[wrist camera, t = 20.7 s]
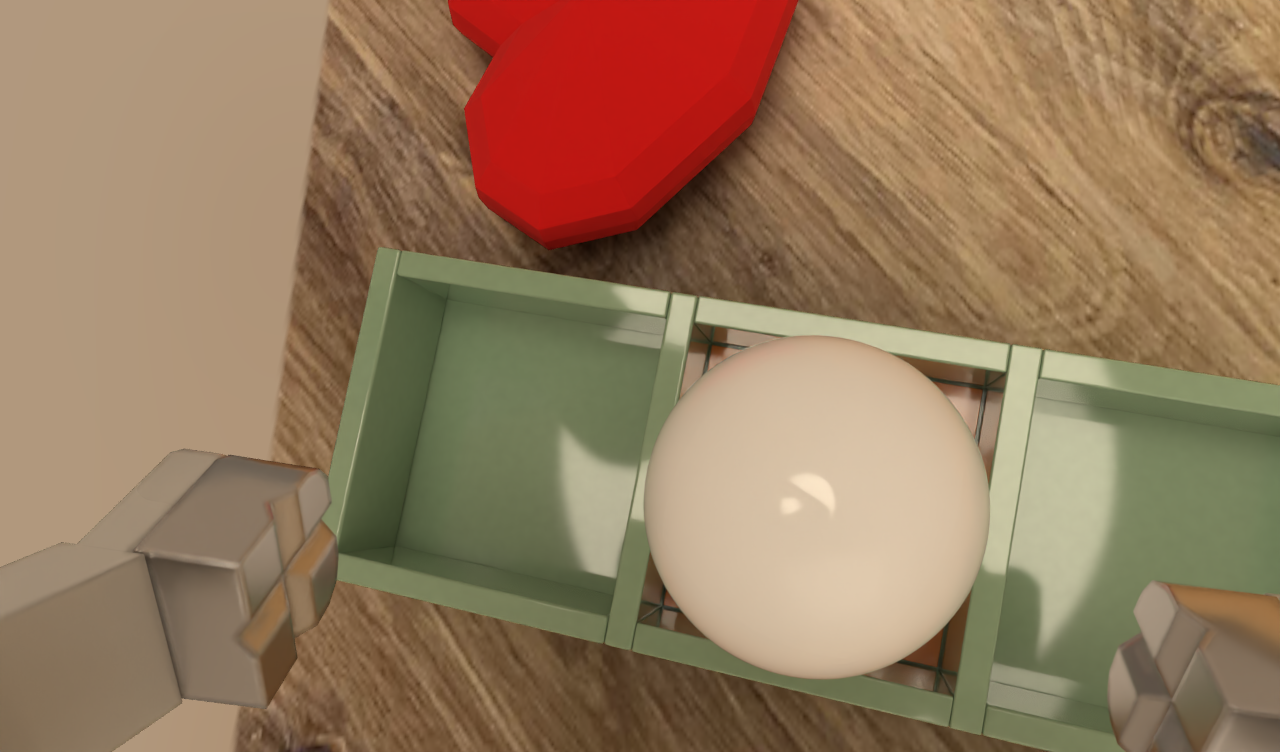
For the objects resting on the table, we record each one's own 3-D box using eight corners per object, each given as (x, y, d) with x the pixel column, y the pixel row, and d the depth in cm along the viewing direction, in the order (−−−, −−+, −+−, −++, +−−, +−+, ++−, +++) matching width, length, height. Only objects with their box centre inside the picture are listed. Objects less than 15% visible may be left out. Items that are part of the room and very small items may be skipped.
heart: (756, -119, 31) (456, -42, 31) (754, -239, 27) (410, -148, 27) (851, 206, 27) (508, 286, 28) (865, 124, 23) (463, 219, 24)
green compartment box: (379, 562, 29) (305, 573, 25) (438, 278, 30) (377, 245, 26) (1301, 777, 24) (1396, 836, 20) (1348, 423, 24) (1449, 410, 20)
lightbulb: (860, 670, 25) (877, 802, 14) (658, 535, 27) (537, 563, 16) (989, 463, 25) (1103, 441, 14) (780, 339, 26) (741, 236, 16)
